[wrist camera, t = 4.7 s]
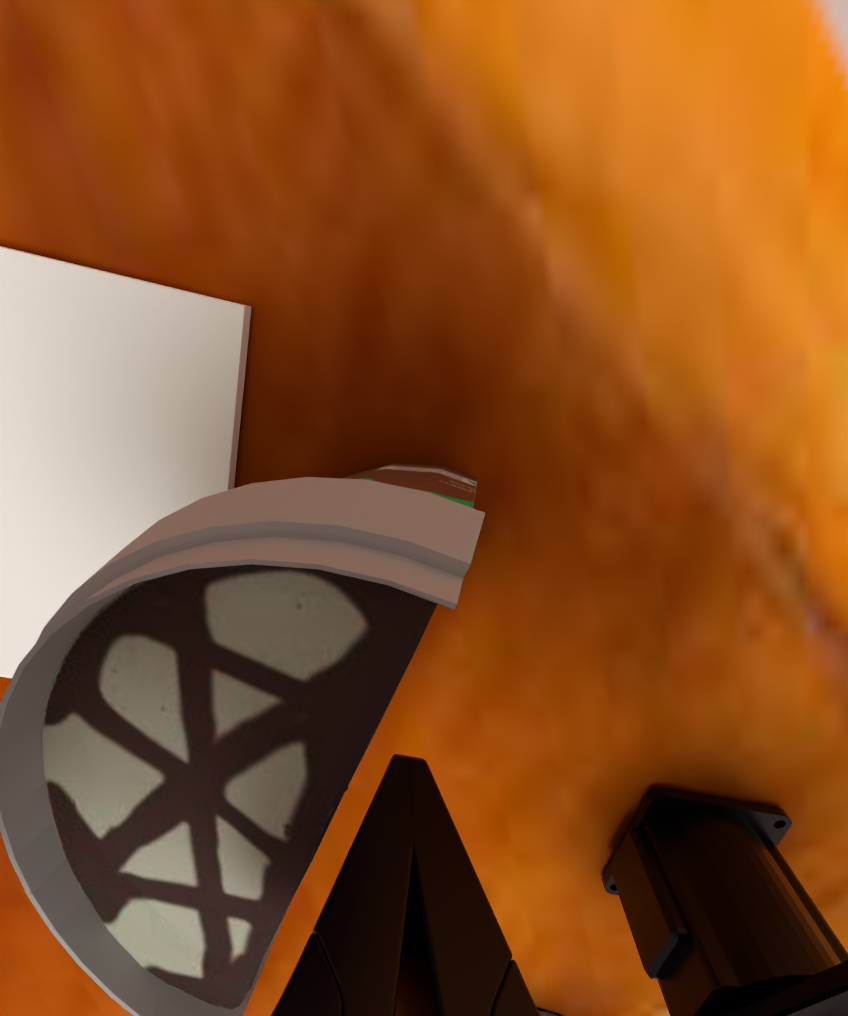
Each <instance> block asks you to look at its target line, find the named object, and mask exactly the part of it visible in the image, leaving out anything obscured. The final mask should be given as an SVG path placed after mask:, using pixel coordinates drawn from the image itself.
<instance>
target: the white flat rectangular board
mask: <svg viewBox="0 0 848 1016" xmlns="http://www.w3.org/2000/svg"><path fill="white" fill-rule="evenodd" d="M250 318H251V306H247V305H243V304H239V303H235V302H231V301H226V300H222V299H218V298H214V297H210V296H206V295H202V294H197V293H193V292H189V291H185V290H181V289H177V288H173V287H168V286H164V285H160V284H156V283H152V282H148V281H144V280H139V279H135V278H131V277H127V276H123V275H119V274H115V273H110V272H106V271H102V270H98V269H94V268H90V267H86V266H81V265H77V264H73V263H69V262H65V261H61V260H57V259H52V258H48V257H44V256H40V255H36V254H32V253H28V252H23V251H19V250H15V249H11V248H7V247H3V246H0V676H1V677H7V678H12V677H13V675H14V673H15V671H16V669H17V667H18V665H19V664H20V662H21V661H22V660H23V659H24V657H25V656H26V655H27V654H28V653H29V651H30V650H31V649H32V648H33V646H34V645H35V644H36V642H37V640H38V638H39V636H40V634H41V632H42V630H43V628H44V627H45V625H46V624H47V623H48V622H49V620H50V619H51V618H52V617H53V616H54V614H55V613H56V612H57V611H58V610H59V608H60V607H61V606H62V605H63V603H64V602H65V601H66V600H67V599H68V597H69V596H70V595H71V594H72V593H73V592H74V591H75V590H76V589H77V588H79V587H80V586H81V585H82V584H83V583H84V582H85V581H87V580H88V579H89V578H90V577H91V576H92V575H94V574H95V573H96V572H97V571H98V570H99V569H100V568H102V567H103V566H104V565H105V564H106V563H107V562H108V561H110V560H111V559H112V558H113V557H114V556H115V555H116V554H118V553H119V552H120V551H121V550H122V549H123V548H124V547H126V546H127V545H128V544H130V543H131V542H132V541H133V540H135V539H136V538H137V537H138V536H140V535H141V534H142V533H143V532H145V531H146V530H147V529H148V528H150V527H151V526H152V525H153V524H155V523H156V522H157V521H158V520H160V519H162V518H164V517H166V516H168V515H170V514H172V513H174V512H176V511H177V510H179V509H181V508H183V507H185V506H187V505H189V504H191V503H193V502H195V501H197V500H199V499H201V498H204V497H207V496H210V495H214V494H217V493H220V492H224V491H227V490H231V489H234V482H235V472H236V462H237V452H238V441H239V431H240V421H241V410H242V400H243V390H244V379H245V369H246V359H247V349H248V338H249V328H250Z"/></svg>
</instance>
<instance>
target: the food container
mask: <svg viewBox="0 0 848 1016" xmlns="http://www.w3.org/2000/svg"><path fill="white" fill-rule="evenodd" d="M477 481H478V478H475V477H472V476H469V475H467V474H464V473H461V472H458V471H455V470H453V469H450V468H447V467H444V466H433V465H419V464H405V463H393V464H389V465H385V466H381V467H377V468H373V469H369V470H365V471H361V472H357V473H353V474H351V475H349V476H346V477H344V478H321V477H301V478H293V479H284V480H275V481H267V482H258V483H251V484H247V485H244V486H241V487H237V488H234V489H231V490H227V491H224V492H220V493H217V494H214V495H210V496H207V497H204V498H201V499H199V500H197V501H195V502H193V503H191V504H189V505H187V506H185V507H183V508H181V509H179V510H177V511H176V512H174V513H172V514H170V515H168V516H166V517H164V518H162V519H160V520H158V521H157V522H156V523H155V524H153V525H152V526H151V527H150V528H148V529H147V530H146V531H145V532H143V533H142V534H141V535H140V536H138V537H137V538H136V539H135V540H133V541H132V542H131V543H130V544H128V545H127V546H126V547H124V548H123V549H122V550H121V551H120V552H119V553H118V554H116V555H115V556H114V557H113V558H112V559H111V560H110V561H108V562H107V563H106V564H105V565H104V566H103V567H102V568H100V569H99V570H98V571H97V572H96V573H95V574H94V575H92V576H91V577H90V578H89V579H88V580H87V581H85V582H84V583H83V584H82V585H81V586H80V587H79V588H77V589H76V590H75V591H74V592H73V593H72V594H71V595H70V596H69V597H68V599H67V600H66V601H65V602H64V603H63V605H62V606H61V607H60V608H59V610H58V611H57V612H56V613H55V614H54V616H53V617H52V618H51V619H50V620H49V622H48V623H47V624H46V625H45V627H44V628H43V630H42V632H41V634H40V636H39V638H38V640H37V642H36V644H35V645H34V646H33V648H32V649H31V650H30V651H29V653H28V654H27V655H26V656H25V657H24V659H23V660H22V661H21V662H20V664H19V665H18V667H17V669H16V671H15V673H14V675H13V677H12V679H11V681H10V683H9V686H8V688H7V690H6V692H5V694H4V696H3V698H2V700H1V703H0V831H1V834H2V837H3V841H4V844H5V847H6V850H7V853H8V856H9V859H10V861H11V863H12V865H13V867H14V869H15V871H16V873H17V875H18V877H19V879H20V881H21V883H22V885H23V887H24V889H25V892H26V894H27V896H28V897H29V899H30V900H31V902H32V903H33V905H34V906H35V908H36V910H37V911H38V913H39V914H40V916H41V917H42V919H43V920H44V922H45V923H46V925H47V926H48V928H49V929H50V931H51V932H52V934H53V935H54V936H55V937H56V938H57V940H58V941H59V942H60V943H61V945H62V946H63V947H64V948H65V949H66V951H67V952H68V953H69V954H70V955H71V957H72V958H73V959H74V960H75V962H76V963H77V964H78V965H79V966H80V967H81V968H82V969H83V970H84V971H85V972H86V973H87V974H88V975H89V976H90V977H91V978H92V979H93V980H94V981H95V982H96V983H97V984H98V985H99V986H100V987H101V988H102V989H103V990H104V991H105V992H106V993H107V994H108V995H109V996H110V997H111V998H112V999H114V1000H115V1001H116V1002H117V1003H118V1004H120V1005H121V1006H122V1007H123V1008H125V1009H126V1010H127V1011H128V1012H129V1013H131V1014H132V1015H133V1016H243V1014H244V1011H245V1009H246V1007H247V1004H248V1002H249V999H250V997H251V994H252V992H253V990H254V987H255V985H256V982H257V980H258V977H259V975H260V973H261V970H262V968H263V965H264V963H265V960H266V958H267V956H268V953H269V951H270V948H271V946H272V944H273V941H274V939H275V936H276V934H277V931H278V929H279V927H280V924H281V922H282V919H283V917H284V914H285V912H286V910H287V908H288V906H289V904H290V902H291V900H292V898H293V896H294V894H295V892H296V890H297V888H298V886H299V885H300V883H301V881H302V879H303V877H304V875H305V873H306V871H307V869H308V867H309V865H310V863H311V861H312V859H313V857H314V855H315V853H316V851H317V849H318V847H319V845H320V843H321V841H322V838H323V836H324V834H325V832H326V830H327V828H328V826H329V824H330V822H331V820H332V818H333V815H334V813H335V811H336V809H337V807H338V805H339V803H340V801H341V799H342V797H343V794H344V793H345V791H346V790H347V789H348V785H349V783H350V781H351V779H352V777H353V775H354V773H355V771H356V769H357V767H358V765H359V763H360V761H361V759H362V757H363V755H364V753H365V751H366V749H367V747H368V745H369V743H370V741H371V739H372V737H373V735H374V733H375V731H376V729H377V727H378V725H379V723H380V721H381V719H382V717H383V715H384V713H385V711H386V709H387V707H388V705H389V703H390V701H391V699H392V697H393V695H394V693H395V691H396V689H397V687H398V685H399V683H400V680H401V678H402V676H403V674H404V672H405V670H406V668H407V666H408V664H409V662H410V660H411V658H412V656H413V654H414V652H415V650H416V648H417V646H418V644H419V641H420V639H421V637H422V635H423V633H424V631H425V629H426V627H427V624H428V622H429V620H430V618H431V616H432V614H433V612H434V610H435V608H436V605H437V604H440V605H442V606H445V607H448V608H450V609H453V610H455V608H456V606H457V603H458V599H459V595H460V591H461V586H462V582H463V578H464V576H465V574H466V573H467V571H468V569H469V567H470V565H471V561H472V558H473V554H474V551H475V547H476V544H477V540H478V537H479V534H480V530H481V527H482V523H483V520H484V516H485V512H482V511H479V510H476V509H473V508H474V501H475V494H476V487H477Z"/></svg>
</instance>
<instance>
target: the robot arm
mask: <svg viewBox="0 0 848 1016" xmlns="http://www.w3.org/2000/svg"><path fill="white" fill-rule="evenodd" d="M791 823H792V822H791V819H790V818H789V816H788V815H787V814H786V812H785V811H784V810H783V809H781V808H777V807H771V806H765V805H760V804H754V803H748V802H742V801H737V800H731V799H725V798H719V797H713V796H708V795H702V794H696V793H690V792H685V791H679V790H673V789H667V788H654V789H652V790H650V791H649V792H648V793H647V795H646V797H645V798H644V800H643V802H642V804H641V806H640V808H639V810H638V811H637V813H636V815H635V817H634V819H633V821H632V823H631V824H630V826H629V828H628V830H627V832H626V834H625V836H624V837H623V839H622V841H621V843H620V845H619V847H618V849H617V850H616V852H615V854H614V856H613V858H612V860H611V862H610V863H609V865H608V867H607V869H606V871H605V873H604V875H603V876H602V881H603V885H604V888H605V890H606V892H608V893H610V894H615V895H619V897H620V900H621V903H622V906H623V909H624V911H625V914H626V917H627V920H628V923H629V926H630V929H631V932H632V935H633V938H634V941H635V944H636V947H637V949H638V952H639V955H640V958H641V961H642V964H643V967H644V970H645V971H646V973H647V974H648V976H649V977H650V978H651V979H657V980H658V982H659V985H660V988H661V991H662V994H663V996H664V999H665V1002H666V1005H667V1008H668V1010H669V1013H670V1016H848V953H847V952H846V950H845V949H844V947H843V946H842V944H841V943H840V941H839V940H838V938H837V937H836V935H835V934H834V932H833V931H832V929H831V928H830V927H829V925H828V924H827V922H826V921H825V919H824V918H823V916H822V915H821V913H820V912H819V910H818V909H817V907H816V906H815V904H814V903H813V901H812V900H811V898H810V897H809V895H808V894H807V892H806V891H805V889H804V888H803V886H802V885H801V883H800V882H799V880H798V879H797V877H796V876H795V874H794V873H793V871H792V870H791V868H790V867H789V866H788V864H787V863H786V861H785V860H784V858H783V857H782V855H781V854H780V852H779V851H778V849H777V848H776V846H777V844H778V843H779V842H780V840H781V839H782V837H783V836H784V834H785V833H786V832H787V830H788V829H789V827H790V826H791ZM511 959H512V953H511V951H510V949H509V946H508V944H507V942H506V940H505V937H504V935H503V933H502V931H501V928H500V926H499V924H498V922H497V919H496V917H495V915H494V913H493V910H492V908H491V906H490V904H489V901H488V899H487V897H486V895H485V892H484V890H483V888H482V886H481V883H480V881H479V879H478V877H477V874H476V872H475V870H474V868H473V865H472V863H471V861H470V859H469V856H468V854H467V852H466V850H465V847H464V845H463V843H462V840H461V838H460V836H459V834H458V831H457V829H456V827H455V825H454V822H453V820H452V818H451V816H450V813H449V811H448V809H447V807H446V804H445V802H444V800H443V798H442V795H441V793H440V791H439V789H438V786H437V784H436V782H435V780H434V777H433V775H432V773H431V771H430V768H429V766H428V764H427V762H426V761H425V760H424V759H422V758H417V757H411V756H405V755H399V754H395V755H393V756H392V758H391V760H390V762H389V765H388V767H387V769H386V771H385V773H384V776H383V778H382V780H381V782H380V784H379V787H378V789H377V791H376V793H375V795H374V798H373V800H372V802H371V804H370V806H369V808H368V811H367V813H366V815H365V817H364V819H363V822H362V824H361V826H360V828H359V830H358V833H357V835H356V837H355V839H354V841H353V843H352V846H351V848H350V850H349V852H348V854H347V857H346V859H345V861H344V863H343V865H342V868H341V870H340V872H339V874H338V876H337V878H336V881H335V883H334V885H333V887H332V889H331V892H330V894H329V896H328V898H327V900H326V903H325V905H324V907H323V909H322V911H321V914H320V916H319V918H318V920H317V922H316V924H315V927H314V929H313V933H312V934H311V935H310V937H309V939H308V941H307V944H306V946H305V948H304V950H303V952H302V954H301V957H300V959H299V961H298V963H297V965H296V967H295V969H294V971H293V973H292V975H291V977H290V979H289V981H288V983H287V985H286V987H285V989H284V991H283V994H282V996H281V998H280V1000H279V1001H278V1003H277V1005H276V1007H275V1009H274V1010H273V1012H272V1014H271V1016H540V1014H539V1012H538V1010H537V1008H536V1006H535V1004H534V1002H533V999H532V997H531V995H530V993H529V991H528V989H527V987H526V984H525V982H524V980H523V978H522V975H521V973H520V971H519V968H518V966H517V964H516V962H515V961H514V960H511Z"/></svg>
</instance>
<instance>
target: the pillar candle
mask: <svg viewBox="0 0 848 1016" xmlns="http://www.w3.org/2000/svg"><path fill="white" fill-rule="evenodd" d="M538 1012H539V1014H540V1016H557V1015H555V1014H552V1013H550V1012H543V1011H539V1010H538Z"/></svg>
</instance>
